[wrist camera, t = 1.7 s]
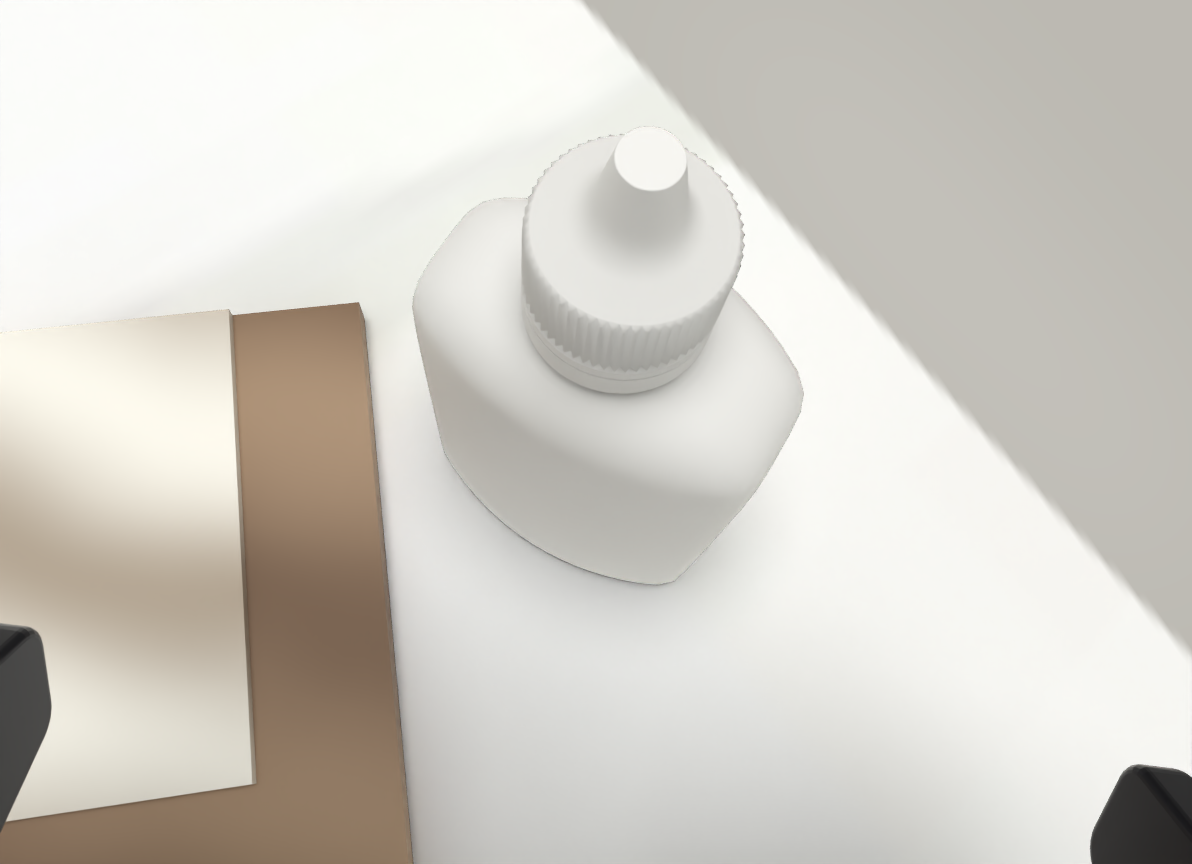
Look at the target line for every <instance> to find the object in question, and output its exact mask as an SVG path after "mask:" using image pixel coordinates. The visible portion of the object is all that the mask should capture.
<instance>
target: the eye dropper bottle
mask: <svg viewBox="0 0 1192 864" xmlns="http://www.w3.org/2000/svg"><path fill="white" fill-rule="evenodd" d="M727 186H728V185H727V184H726V183H725V182H723V181H722V180H721V176H720V175H718V174H717V173H715V172H714V168H712V167H711V166H709V165H707V164H706V161H705V160H703V159H700V158H698V156H697V154H694V153H692V152H689V150H688V149H687V148H684V146H683V145H682V143H681V142H680V140H679V139H678V138H677V137H676V136H675V135H673V134H672V133H670V132H669V131H667V130H665V129H662V128H659V127H653V126H644V127H639V128H635V129H633V130H631V131H629V132H627V133H626V134H620V135H618V136H615V135H609V136H608V137H599V138H598V139H597V140H588V142H587V143H585V144H578V147H577V148H574V149H569V151H568V153H567V154H564V155H560V157H559V160H557V161H554V162H552V163H551V167H550V168H548V169H546V170H544V175H543V176H541V177H540V178H538V182H537V185H535V186H534V187H532V194H531V195H530V196H529V197H528V198H499V199H494V200H489V201H485V202H482V203H481V204H479V205H478V206H476V207H475V208H473V209H472V210H470V211H469V212H468V213H467V214H466V215H465V216H464V217H463V218H462V219H461V221H460V222H459V223H458V224H457V225H456V226H455V228H454V229H453V230H452V231H451V233H450V234H449V235H448V237H447V238H446V239H445V241H444V242H443V243H442V245H441V246H440V247H439V249H438V250H437V252H436V253H435V254H434V256H433V257H432V259H431V260H430V262H429V263H428V265H427V267H426V268H425V270H424V271H423V273H422V275H421V276H420V278H419V280H418V283H417V286H416V290H415V293H414V296H413V305H412V309H413V315H414V321H415V327H416V333H417V338H418V343H419V347H420V352H421V356H422V361H423V365H424V370H425V374H426V378H427V383H428V387H429V391H430V396H431V400H432V404H433V408H434V413H435V417H436V421H437V425H438V429H439V434H440V438H441V442H442V446H443V450H444V453H445V454H446V456H447V458H448V459H449V461H450V463H451V464H452V466H453V468H454V469H455V470H456V472H457V473H458V475H459V476H460V477H461V479H462V480H463V481H464V482H465V484H466V485H467V486H468V487H469V489H470V490H471V491H472V492H473V493H474V494H475V496H476V497H477V498H478V499H479V500H480V501H481V502H482V503H483V504H484V505H485V506H486V507H487V508H488V509H489V510H490V511H491V512H492V513H493V514H494V515H495V516H496V517H497V518H499V519H500V520H501V521H502V522H503V523H504V524H506V525H507V526H508V527H509V528H511V529H512V530H513V531H515V532H516V533H517V534H519V535H520V536H521V537H523V538H524V539H526V540H527V541H529V542H530V543H532V544H533V545H535V546H537V547H538V548H540V549H542V550H544V551H545V552H547V553H549V554H551V555H553V556H555V557H557V558H559V559H561V560H563V561H565V562H568V563H570V564H572V565H575V566H577V567H580V568H583V569H585V570H588V571H591V572H594V573H597V574H601V575H604V576H607V577H612V578H616V579H620V580H625V581H630V582H636V583H643V584H655V585H659V584H664V583H668V582H673V581H674V580H676V579H677V578H678V577H679V576H680V575H681V574H682V573H684V572H685V571H686V570H687V569H688V568H689V567H690V566H691V565H692V563H693V562H694V561H695V560H696V559H697V558H698V557H699V556H700V555H701V554H702V553H703V552H704V550H705V549H706V548H707V547H708V546H709V545H710V544H711V543H712V542H713V541H714V540H715V538H716V537H717V536H718V535H719V534H720V533H721V532H722V531H723V530H724V528H725V527H726V526H727V525H728V524H729V523H730V522H731V521H732V519H733V518H734V517H735V516H736V515H737V514H738V513H739V512H740V511H741V509H742V508H743V507H744V506H745V504H746V503H747V502H748V501H749V499H750V498H751V497H752V496H753V494H754V493H755V492H756V490H757V489H758V487H759V486H760V484H761V483H762V481H763V479H764V478H765V476H766V475H767V473H768V471H769V470H770V468H771V466H772V465H773V463H774V461H775V459H776V458H777V456H778V454H779V452H780V451H781V449H782V447H783V445H784V444H785V442H786V440H787V438H788V437H789V435H790V433H791V431H792V429H793V427H794V425H795V423H796V421H797V419H798V416H799V414H800V412H801V407H802V401H803V396H804V392H803V388H802V384H801V381H800V378H799V375H798V371H797V369H796V368H795V366H794V364H793V363H792V361H791V360H790V358H789V356H788V355H787V353H786V351H785V350H784V348H783V347H782V345H781V344H780V343H779V341H778V340H777V338H776V337H775V336H774V334H773V333H772V331H771V330H770V329H769V328H768V326H767V325H766V324H765V323H764V322H763V320H762V319H761V318H760V317H759V316H758V314H757V313H756V312H755V311H754V310H753V309H752V307H751V306H750V305H749V304H748V303H747V302H746V301H745V300H744V299H743V298H742V296H741V295H740V294H739V293H737V292H736V291H735V290H734V289H733V288H732V286H733V284H734V282H735V280H736V278H737V274H738V272H739V269H740V267H741V264H740V262H741V260H742V258H743V253H742V251H743V248H744V246H745V245H744V243H743V241H742V240H743V238H744V236H745V234H744V233H743V231H742V227H743V225H744V224H743V223H742V221H741V220H740V216H741V213H740V212H739V211H738V209H737V205H738V204H737V202H736V201H735V200H734V199H733V198H732V197H733V193H731V192H730V191H729V190H728V189H727Z"/></svg>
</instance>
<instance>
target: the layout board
mask: <svg viewBox="0 0 1192 864" xmlns="http://www.w3.org/2000/svg"><path fill="white" fill-rule="evenodd" d="M0 623H4V624H12V625H20V626H28V627H31V628H33V629H35V630H36V631H37V632H38V633H39V635H40V636H41V639H42V642H43V647H44V654H45V661H46V668H47V674H48V681H49V688H50V695H51V704H52V709H51V718H50V723H49V726H48V729H47V732H46V735H45V737H44V739H43V742H42V744H41V746H40V748H39V750H38V752H37V755H36V757H35V759H34V761H33V763H32V765H31V768H30V770H29V772H28V774H27V776H26V779H25V781H24V783H23V785H22V787H21V789H20V792H19V794H18V796H17V798H16V800H15V802H14V805H13V807H12V809H11V811H10V813H9V815H8V818H7V820H6V822H5V824H4V826H3V828H2V831H1V833H0V864H413V857H412V846H411V834H410V823H409V812H408V801H407V790H406V779H405V767H404V756H403V745H402V734H401V723H400V712H399V700H398V689H397V678H396V667H395V656H394V645H393V633H392V622H391V611H390V600H389V589H388V578H387V566H386V555H385V544H384V533H383V522H382V511H381V500H380V488H379V477H378V466H377V455H376V444H375V433H374V421H373V410H372V399H371V388H370V377H369V366H368V354H367V343H366V332H365V321H364V316H363V313H362V310H361V307H360V304H359V302H358V303H348V304H338V305H328V306H319V307H309V308H299V309H289V310H279V311H270V312H260V313H250V314H240V315H232V314H231V312H230V311H229V309H226V310H216V311H206V312H196V313H187V314H177V315H167V316H157V317H147V318H137V319H128V320H118V321H108V322H98V323H88V324H78V325H69V326H59V327H49V328H39V329H29V330H19V331H9V332H0Z"/></svg>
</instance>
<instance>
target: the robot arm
mask: <svg viewBox="0 0 1192 864" xmlns="http://www.w3.org/2000/svg"><path fill="white" fill-rule="evenodd" d="M51 709H52V704H51V695H50V688H49V681H48V674H47V668H46V661H45V654H44V647H43V642H42V639H41V636H40V635H39V633H38V632H37V631H36V630H35V629H33V628H31V627H28V626H20V625H12V624H4V623H0V833H1V831H2V828H3V826H4V824H5V822H6V820H7V818H8V815H9V813H10V811H11V809H12V807H13V805H14V802H15V800H16V798H17V796H18V794H19V792H20V789H21V787H22V785H23V783H24V781H25V779H26V776H27V774H28V772H29V770H30V768H31V765H32V763H33V761H34V759H35V757H36V755H37V752H38V750H39V748H40V746H41V744H42V742H43V739H44V737H45V735H46V732H47V729H48V726H49V723H50V718H51ZM1090 853H1091V861H1092V864H1192V777H1191V776H1189V775H1188V774H1186V773H1185V772H1183V771H1180V770H1177V769H1173V768H1165V767H1157V766H1149V765H1141V764H1138V765H1132V766H1130V767H1128V768H1127V769H1126V770H1125V771H1123V773H1122V774H1121V776H1120V778H1119V780H1118V782H1117V784H1116V786H1115V788H1114V790H1113V792H1112V793H1111V795H1110V797H1109V799H1108V801H1107V803H1106V805H1105V807H1104V809H1103V811H1102V813H1101V815H1100V817H1099V819H1098V821H1097V823H1096V825H1095V827H1094V829H1093V832H1092V837H1091V844H1090Z"/></svg>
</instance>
